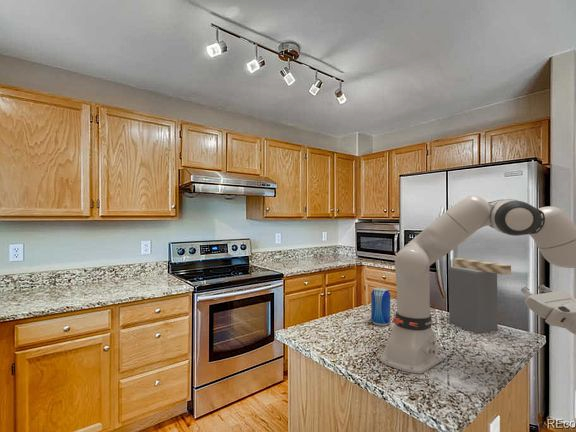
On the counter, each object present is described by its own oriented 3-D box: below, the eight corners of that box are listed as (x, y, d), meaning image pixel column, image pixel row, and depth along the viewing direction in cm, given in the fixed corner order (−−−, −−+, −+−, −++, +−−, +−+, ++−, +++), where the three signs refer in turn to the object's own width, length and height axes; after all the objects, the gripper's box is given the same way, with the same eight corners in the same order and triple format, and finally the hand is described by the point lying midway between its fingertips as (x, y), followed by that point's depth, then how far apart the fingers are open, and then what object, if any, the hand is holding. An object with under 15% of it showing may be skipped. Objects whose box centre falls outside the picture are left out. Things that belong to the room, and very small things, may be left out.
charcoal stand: (497, 330, 132) (497, 270, 132) (477, 333, 128) (477, 271, 128) (468, 320, 145) (468, 265, 145) (449, 323, 141) (449, 266, 141)
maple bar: (511, 274, 123) (511, 265, 123) (504, 274, 121) (504, 265, 121) (459, 265, 145) (459, 258, 145) (452, 265, 144) (452, 258, 144)
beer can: (374, 319, 146) (373, 286, 146) (392, 322, 142) (392, 288, 142) (369, 324, 139) (369, 289, 139) (388, 328, 135) (387, 291, 135)
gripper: (594, 305, 105) (553, 278, 116) (556, 311, 98) (517, 283, 109) (583, 318, 107) (544, 291, 119) (545, 325, 101) (508, 296, 112)
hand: (531, 287), depth 114 cm, fingers open, 8 cm apart
